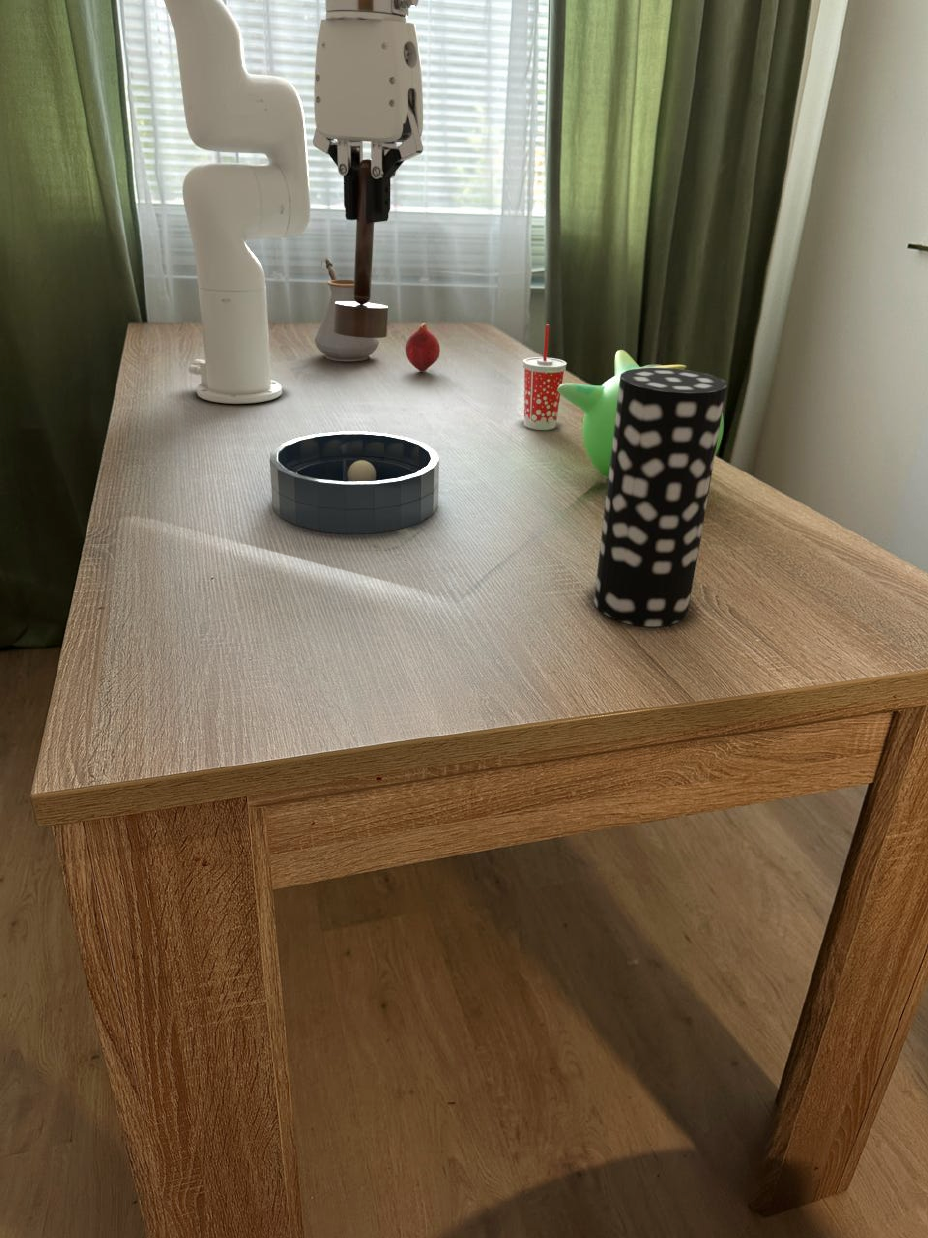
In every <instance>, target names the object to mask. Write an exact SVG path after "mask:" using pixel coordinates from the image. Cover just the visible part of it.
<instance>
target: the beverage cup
mask: <svg viewBox="0 0 928 1238" xmlns="http://www.w3.org/2000/svg"><path fill="white" fill-rule="evenodd" d="M549 336H550V324H549V323H547V324H545V333H544V343H543V345H544V347H543V356H533V357H527V358H524V359H523V360H522V368H523V371H524V375H523V377H524V378H523V426H524V427H526V428H527V429H531V430H536V431H549V430H554V429H556V426H557V419H558V413H559V407H560V400H561V394H560V393H559V392H558V387H559V386H560V385H561V384H563V379H564V372H565V371H566V369H567V364H568V362H566V361H565V360H562V359H559V358H554V357H548V347H549Z"/></svg>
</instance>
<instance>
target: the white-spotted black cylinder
mask: <svg viewBox="0 0 928 1238" xmlns="http://www.w3.org/2000/svg"><path fill="white" fill-rule="evenodd" d="M727 387H728V384H727V381H725V380H724V379H722V378H720V377H717V376H715V375H712V374H709V373H704V372H700V371H696V370H689V369H673V368H639V369H632V370H628V371H625V372H623V373H622V374H621V376H620V383H619V392H618V400H617V409H616V417H615V426H614V434H613V443H612V451H611V460H610V468H609V477H608V478H607V486H606V493H605V494H606V495H605V503H604V511H603V519H602V520H603V521H602V528H601V537H600V545H599V555H598V564H597V571H596V580H595V588H594V589H595V590H594V596H593V603H594V605H595V607H596V608H597V610H599V611H600V612H601V613H602V614H603V615H605V616H607V617H609V618H611V619H613V620H615V621H617V622H621V623H624V624H628V625H633V626H640V627H663V626H664V627H665V626H670V625H674V624H677V623H680V622H681V621H683V620H684V619H685V618H686V617H687V615H688V614H689V609H690V603H691V597H692V592H693V585H694V580H695V575H696V570H697V569H696V568H697V562H698V557H699V550H700V546H701V545H700V544H701V538H702V533H703V528H704V522H705V516H706V510H707V504H708V499H709V493H710V486H711V481H712V476H713V471H714V464H715V458H716V455H715V452H716V447H717V441H718V435H719V429H720V423H721V418H722V412H724V405H725V400H726V394H727V389H728V388H727Z"/></svg>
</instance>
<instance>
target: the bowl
mask: <svg viewBox="0 0 928 1238" xmlns="http://www.w3.org/2000/svg"><path fill="white" fill-rule="evenodd" d="M360 460H364V461H367V462H369V463H371V464H372V465H373V466H374V468H375V470H376V480H375V481H373V482H349V480H348V470H349V467H350V466H351V465H352V464H353V463H354V462H356V461H360ZM269 472H270V485H271V486H270V487H271V488H270V489H271V503H272V510H273V511H274V512H275V513H276V514H277V515H278V517H279V518H281V519H282V520H285V521H286V522H289V523H291V524H293V525H295V526H298V527H301V528H305V529H309V530H314V531H318V532H324V533H325V532H326V533H333V534H335V533H336V534H342V535H343V534H344V535H345V534H347V535H351V534H352V535H355V534H356V535H357V534H378V533H384V532H385V533H386V532H391V531H398V530H402V529H405V528H408V527H411V526H415V525H417V524H420V523H422V522H423V521H425V520H426V519H428V518H430V517H431V516H433V515H434V513H435V511H436V509H437V507H438V505H439V481H440V459H439V456H438V454H437V452H436V450H435V449H433V448H431V446H428V445H427V444H426V443H423V442H420V441H417V440H414V439H411V438H409V437H404V436H398V435H393V434H388V433H381V432H380V433H379V432H369V431H339V432H338V431H337V432H327V433H326V432H325V433H318V434H317V433H315V434H311V435H307V436H303V437H297V438H294V439H292V440H288V441H287V442H284V443H282V444H279V445H278V446H277V447H276V448H275V449H274V450H272V451H271V452H270V455H269Z"/></svg>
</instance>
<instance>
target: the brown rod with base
mask: <svg viewBox="0 0 928 1238" xmlns="http://www.w3.org/2000/svg"><path fill="white" fill-rule="evenodd" d="M367 178H372V174H371V158H363V160H362V161H361V162H360V164H359V174H358V198H357V220H356V225H355V245H354V246H355V247H354V248H355V249H354V269H353V280H354V293H353V296H354V300H355V301H356V302H352V301H338V302H335V310H334V332H335V333H337V334H340V335H345V336H352V337H362V338H378V339H381V338H386V337H387V334H388V317H389V306H388V305H384V304H379V303H373V302H370V300H371V298H372V297H371V296H372V278H373V277H372V276H373V257H374V239H375V238H374V237H375V236H374V235H375V234H374V233H375V222H374V223H373V222H368V220H367V219H366V181H367Z"/></svg>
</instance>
